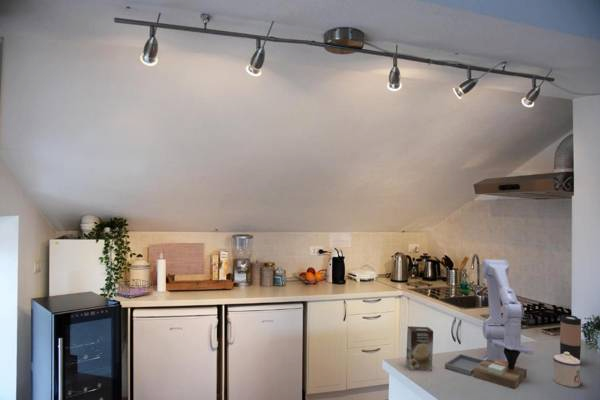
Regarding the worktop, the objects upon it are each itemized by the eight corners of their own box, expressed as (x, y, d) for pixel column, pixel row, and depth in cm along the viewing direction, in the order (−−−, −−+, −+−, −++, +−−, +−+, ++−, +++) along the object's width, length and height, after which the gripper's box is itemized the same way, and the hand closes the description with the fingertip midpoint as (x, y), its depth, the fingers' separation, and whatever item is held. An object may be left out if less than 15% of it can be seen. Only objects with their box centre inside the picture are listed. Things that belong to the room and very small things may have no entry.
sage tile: (492, 368, 164) (492, 363, 164) (505, 372, 161) (505, 366, 161) (487, 371, 161) (487, 366, 161) (501, 375, 157) (501, 370, 157)
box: (460, 358, 182) (460, 353, 182) (484, 365, 175) (484, 360, 175) (444, 368, 171) (444, 363, 171) (470, 376, 164) (470, 370, 164)
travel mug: (557, 362, 180) (558, 316, 181) (561, 358, 186) (562, 313, 186) (578, 367, 175) (579, 320, 176) (581, 363, 181) (582, 317, 181)
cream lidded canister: (580, 389, 153) (581, 358, 154) (551, 383, 159) (552, 353, 159) (580, 379, 163) (581, 349, 163) (553, 373, 169) (554, 344, 169)
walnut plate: (487, 365, 175) (487, 358, 175) (526, 376, 164) (526, 369, 164) (473, 376, 163) (473, 369, 163) (514, 389, 153) (514, 380, 153)
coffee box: (410, 370, 168) (411, 330, 168) (405, 364, 174) (406, 326, 174) (432, 370, 168) (433, 331, 168) (427, 364, 174) (428, 326, 175)
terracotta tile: (497, 364, 169) (497, 359, 169) (510, 367, 166) (510, 362, 166) (493, 367, 165) (493, 362, 165) (506, 370, 162) (506, 365, 162)
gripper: (489, 331, 165) (489, 365, 165) (530, 340, 155) (529, 376, 155) (495, 328, 170) (494, 361, 170) (535, 336, 161) (534, 371, 160)
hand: (511, 368), depth 163 cm, fingers closed
